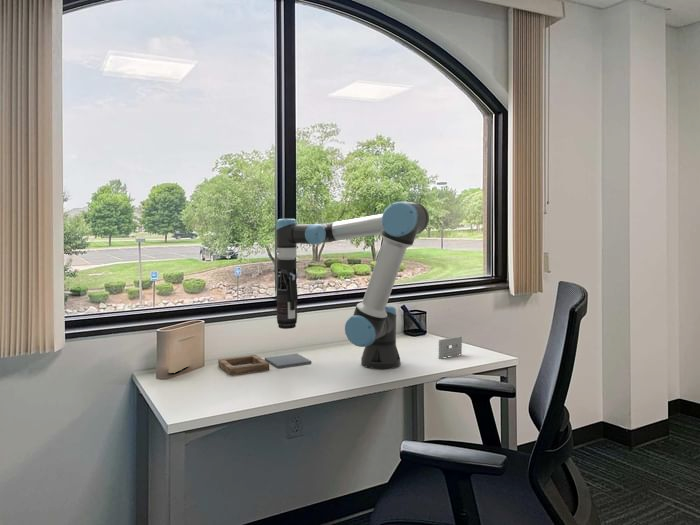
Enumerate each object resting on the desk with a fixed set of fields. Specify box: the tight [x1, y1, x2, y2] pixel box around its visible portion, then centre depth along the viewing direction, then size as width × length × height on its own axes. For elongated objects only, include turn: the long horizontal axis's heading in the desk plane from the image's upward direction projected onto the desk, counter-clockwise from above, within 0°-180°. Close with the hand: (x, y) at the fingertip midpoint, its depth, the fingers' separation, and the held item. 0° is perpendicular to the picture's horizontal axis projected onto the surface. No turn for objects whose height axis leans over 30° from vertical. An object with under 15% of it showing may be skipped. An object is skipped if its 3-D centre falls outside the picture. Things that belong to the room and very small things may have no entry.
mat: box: [264, 352, 312, 369], centre depth 220 cm, size 14×14×1 cm
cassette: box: [438, 335, 463, 359], centre depth 228 cm, size 12×2×8 cm, turn 123°
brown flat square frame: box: [217, 354, 270, 376], centre depth 211 cm, size 15×15×2 cm
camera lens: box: [276, 288, 298, 330], centre depth 218 cm, size 8×8×15 cm
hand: (287, 316), depth 218 cm, fingers closed on camera lens, 8 cm apart
